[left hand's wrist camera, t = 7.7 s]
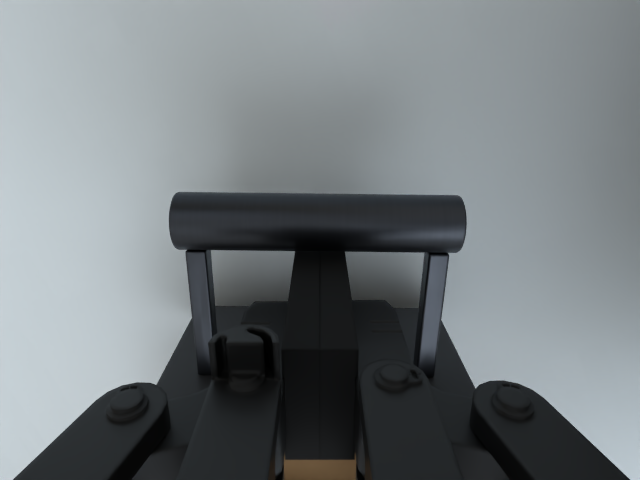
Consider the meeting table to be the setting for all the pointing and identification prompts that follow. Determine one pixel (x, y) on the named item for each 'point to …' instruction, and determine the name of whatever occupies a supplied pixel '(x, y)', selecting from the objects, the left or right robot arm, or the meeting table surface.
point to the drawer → (317, 235)
